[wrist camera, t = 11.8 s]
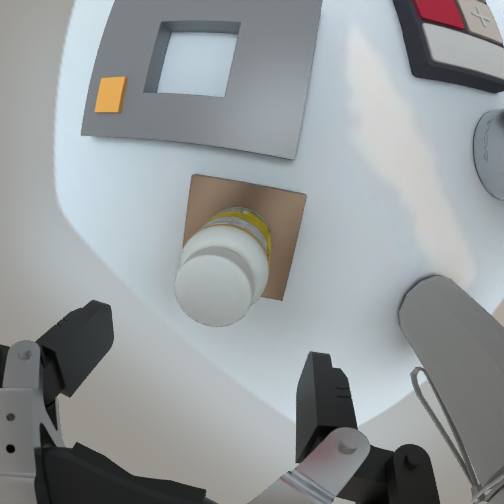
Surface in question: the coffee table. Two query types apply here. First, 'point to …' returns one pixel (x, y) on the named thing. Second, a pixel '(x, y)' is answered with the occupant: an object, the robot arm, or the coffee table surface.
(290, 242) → the coaster pad
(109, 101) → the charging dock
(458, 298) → the water bottle
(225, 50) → the coffee table surface
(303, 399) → the robot arm
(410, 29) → the calculator
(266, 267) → the supplement bottle
